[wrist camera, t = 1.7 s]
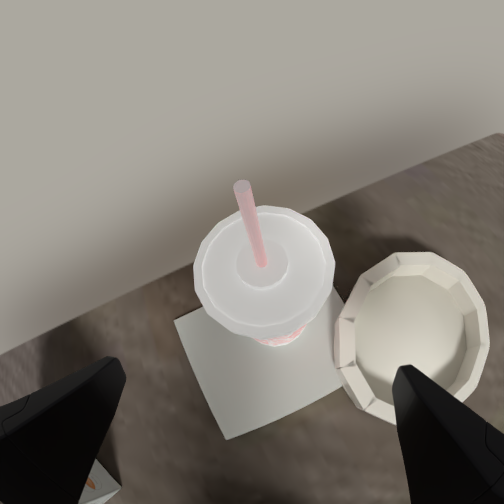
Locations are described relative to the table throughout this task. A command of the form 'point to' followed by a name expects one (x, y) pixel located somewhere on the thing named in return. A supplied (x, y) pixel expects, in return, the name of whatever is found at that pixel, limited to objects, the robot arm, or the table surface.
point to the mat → (260, 368)
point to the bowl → (410, 330)
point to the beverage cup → (264, 271)
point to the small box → (98, 486)
